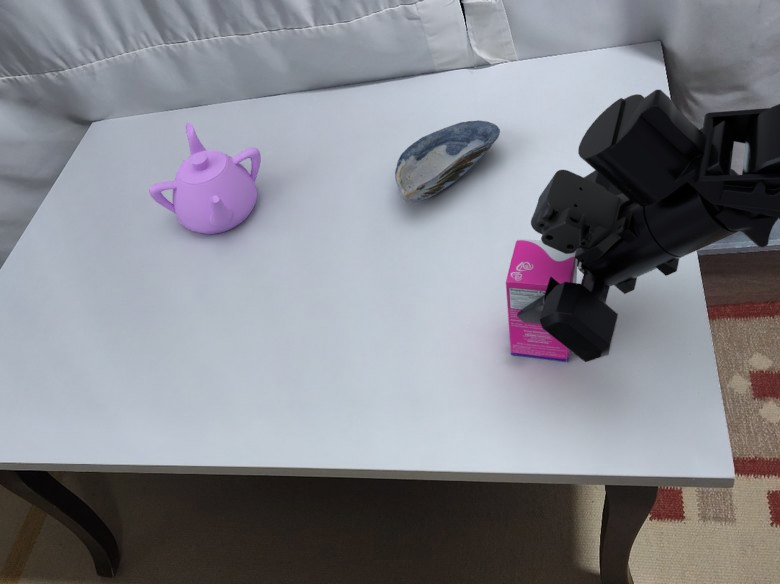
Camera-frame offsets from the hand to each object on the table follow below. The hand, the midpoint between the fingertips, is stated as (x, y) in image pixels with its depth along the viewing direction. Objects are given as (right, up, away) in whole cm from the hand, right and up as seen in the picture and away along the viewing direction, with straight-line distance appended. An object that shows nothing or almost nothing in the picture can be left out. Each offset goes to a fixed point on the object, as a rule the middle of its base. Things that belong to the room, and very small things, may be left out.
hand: (528, 293), depth 73 cm
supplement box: (+3, -4, +5) cm, 7 cm away
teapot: (-33, +14, +29) cm, 46 cm away
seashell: (-3, +16, +22) cm, 28 cm away
